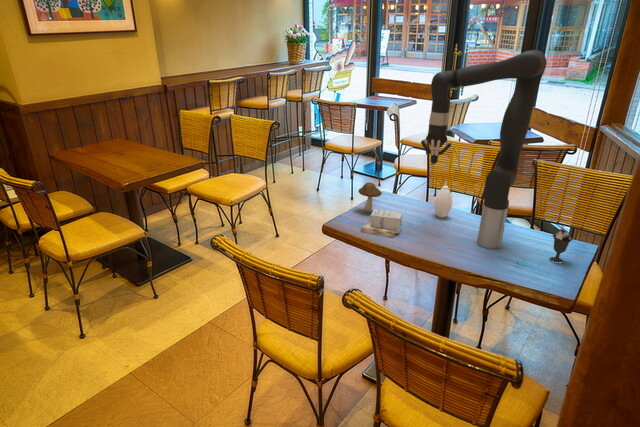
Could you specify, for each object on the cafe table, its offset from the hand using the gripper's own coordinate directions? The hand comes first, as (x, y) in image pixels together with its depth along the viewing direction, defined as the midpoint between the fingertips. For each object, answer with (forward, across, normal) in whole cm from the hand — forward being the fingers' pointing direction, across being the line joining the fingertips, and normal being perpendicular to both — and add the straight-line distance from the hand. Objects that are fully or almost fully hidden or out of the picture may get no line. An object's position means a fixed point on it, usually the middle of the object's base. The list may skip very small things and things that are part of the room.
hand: (433, 163), depth 183 cm
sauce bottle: (+29, -5, -12) cm, 32 cm away
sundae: (+29, -52, +12) cm, 61 cm away
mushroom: (+29, +28, -3) cm, 41 cm away
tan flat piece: (+29, +18, +12) cm, 36 cm away
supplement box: (+25, +9, +12) cm, 29 cm away
